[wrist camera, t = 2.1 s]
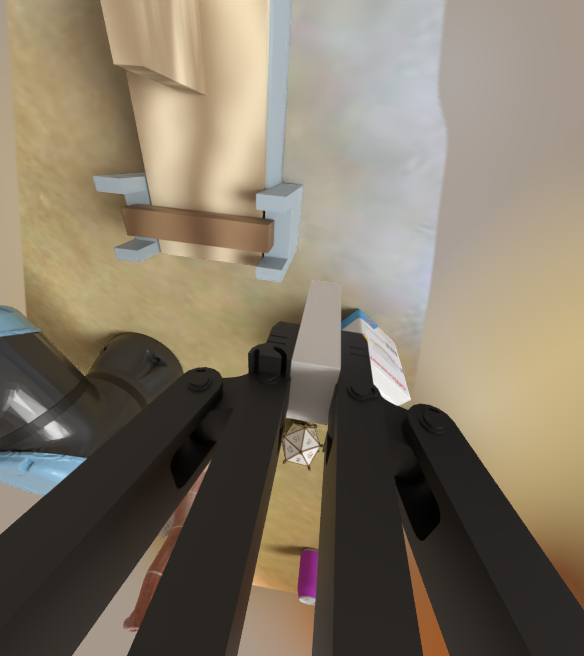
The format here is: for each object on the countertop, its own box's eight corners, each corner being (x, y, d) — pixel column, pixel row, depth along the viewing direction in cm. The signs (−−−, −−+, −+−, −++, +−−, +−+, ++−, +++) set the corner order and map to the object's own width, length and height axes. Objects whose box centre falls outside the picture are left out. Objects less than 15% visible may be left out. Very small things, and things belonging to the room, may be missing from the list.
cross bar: (143, 229, 28) (127, 235, 26) (137, 203, 26) (120, 207, 24) (273, 245, 27) (267, 253, 25) (274, 219, 25) (268, 225, 23)
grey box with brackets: (176, 235, 37) (117, 262, 27) (126, -82, 22) (-36, -263, 13) (297, 250, 35) (280, 285, 25) (327, -78, 21) (315, -279, 11)
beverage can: (307, 556, 92) (303, 605, 82) (297, 547, 89) (292, 596, 79) (327, 556, 90) (325, 606, 80) (318, 547, 86) (315, 597, 76)
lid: (170, 248, 31) (108, 280, 23) (102, -146, 17) (-125, -436, 9) (265, 260, 30) (236, 299, 22) (276, -146, 16) (206, -475, 8)
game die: (313, 414, 58) (333, 462, 52) (277, 430, 58) (293, 479, 52) (308, 405, 50) (329, 461, 45) (266, 423, 50) (283, 480, 45)
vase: (199, 454, 67) (115, 631, 42) (190, 436, 63) (92, 619, 38) (239, 458, 65) (175, 645, 40) (232, 439, 61) (157, 634, 36)
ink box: (317, 339, 42) (310, 393, 33) (359, 307, 38) (365, 357, 28) (353, 370, 45) (356, 429, 35) (396, 343, 40) (413, 401, 31)
